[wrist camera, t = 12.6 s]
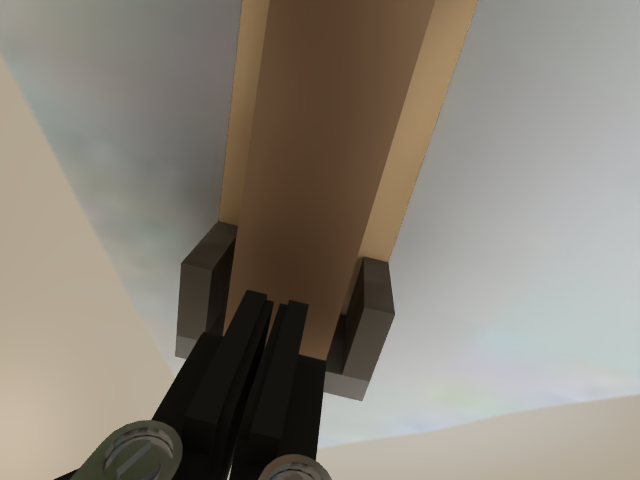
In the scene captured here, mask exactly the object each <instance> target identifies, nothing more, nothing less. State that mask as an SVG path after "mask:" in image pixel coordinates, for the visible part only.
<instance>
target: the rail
mask: <svg viewBox="0 0 640 480" xmlns="http://www.w3.org/2000/svg"><path fill="white" fill-rule="evenodd" d="M477 2H478V0H435V3H434V6H433V10H432V13H431V16H430V20H429V23H428V26H427V29H426V33H425V36H424V39H423V43H422V46H421V49H420V52H419V56H418V59H417V62H416V66H415V69H414V72H413V75H412V79H411V82H410V85H409V89H408V92H407V95H406V98H405V102H404V105H403V108H402V112H401V115H400V118H399V122H398V125H397V128H396V131H395V135H394V138H393V141H392V145H391V148H390V151H389V154H388V158H387V161H386V164H385V168H384V171H383V174H382V177H381V181H380V184H379V187H378V191H377V194H376V197H375V200H374V204H373V207H372V210H371V214H370V217H369V220H368V223H367V227H366V230H365V233H364V237H363V240H362V243H361V246H360V250H359V253H358V256H357V260H356V263H355V266H354V269H353V273H352V276H351V279H350V283H349V286H348V289H347V292H346V296H345V299H344V302H343V306H342V309H341V312H340V315H339V319H338V322H337V325H336V329H335V332H334V335H333V338H332V342H331V345H330V348H329V352H328V355H327V358H326V372H325V381H324V390H323V392H326V393H330V394H334V395H338V396H342V397H347V398H351V399H355V400H359V401H362V400H363V398H364V395H365V392H366V390H367V387H368V385H369V382H370V379H371V377H372V374H373V371H374V369H375V366H376V363H377V361H378V358H379V356H380V353H381V350H382V348H383V345H384V342H385V340H386V337H387V334H388V332H389V329H390V327H391V324H392V321H393V319H394V316H395V311H394V303H393V295H392V288H391V280H390V272H389V264H388V262H389V259H390V256H391V253H392V250H393V247H394V244H395V241H396V238H397V235H398V232H399V229H400V227H401V224H402V221H403V218H404V215H405V212H406V209H407V206H408V203H409V200H410V197H411V195H412V192H413V189H414V186H415V183H416V180H417V177H418V174H419V171H420V168H421V165H422V163H423V160H424V157H425V154H426V151H427V148H428V145H429V142H430V139H431V136H432V133H433V130H434V128H435V125H436V122H437V119H438V116H439V113H440V110H441V107H442V104H443V101H444V98H445V96H446V93H447V90H448V87H449V84H450V81H451V78H452V75H453V72H454V69H455V66H456V64H457V61H458V58H459V55H460V52H461V49H462V46H463V43H464V40H465V37H466V34H467V32H468V29H469V26H470V23H471V20H472V17H473V14H474V11H475V8H476V5H477ZM268 7H269V0H242V8H241V18H240V27H239V36H238V45H237V54H236V63H235V73H234V82H233V91H232V100H231V109H230V118H229V127H228V137H227V146H226V155H225V164H224V173H223V182H222V191H221V201H220V210H219V219H218V222H217V223H216V224H215V225H214V227H213V228H212V229H211V230H210V231H209V232H208V233H207V235H206V236H205V237H204V238H203V239H202V240H201V241H200V242H199V244H198V245H197V246H196V247H195V248H194V249H193V250H192V252H191V253H190V254H189V255H188V256H187V257H186V258H185V260H184V261H183V262H182V263H181V275H180V290H179V305H178V320H177V336H176V351H175V356H176V357H180V358H184V359H187V358H188V356H189V354H190V352H191V351H192V349H193V347H194V346H195V344H196V342H197V340H198V339H199V337H200V336H201V334H202V333H203V332H208V333H212V334H216V335H220V336H223V330H224V323H225V316H226V309H227V302H228V294H229V287H230V280H231V273H232V266H233V258H234V251H235V244H236V237H237V230H238V223H239V215H240V208H241V201H242V194H243V187H244V180H245V172H246V165H247V158H248V151H249V144H250V136H251V129H252V122H253V115H254V108H255V101H256V93H257V86H258V79H259V72H260V65H261V58H262V50H263V43H264V36H265V29H266V22H267V14H268ZM264 350H265V349H264Z"/></svg>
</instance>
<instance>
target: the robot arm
mask: <svg viewBox="0 0 640 480" xmlns="http://www.w3.org/2000/svg"><path fill="white" fill-rule="evenodd" d="M273 305H274V301H270V300H267V294H264V293H260V292H256V291H252V290H247V291H246V292H245V294H244V296H243V298H242V300H241V302H240V304H239V306H238V308H237V310H236V312H235V314H234V316H233V319H232V321H231V323H230V325H229V327H228V329H227V331H226V333H225V335H224V336H220V335H216V334H212V333H208V332H203V333H202V334H201V336H200V337H199V339H198V340H197V342H196V344H195V346H194V347H193V349H192V351H191V352H190V354H189V356H188V358H187V359H186V361H185V363H184V365H183V366H182V368H181V370H180V371H179V373H178V375H177V377H176V378H175V380H174V382H173V384H172V385H171V387H170V389H169V390H168V392H167V394H166V396H165V397H164V399H163V401H162V402H161V404H160V406H159V407H158V409H157V411H156V413H155V414H154V416H153V418H152V420H146V421H145V420H143V421H137V422H134V423H130V424H127V425H125V426H123V427H121V428H119V429H118V430H116V431H114V432H113V433H112V434H111V435H109V437H107V438H106V439H105V440H104V441H103V442H102V443H101V444H100V445H99V447H98V448H97V449H96V450H95V451H94V452H93V453H92V455H91V456H90V457H89V458H88V459H87V460H86V461H85V463H84V464H83V465H82V466H81V467H80V468H79V469H77V470H74V471H72V472H70V473H68V474H65V475H63V476H61V477H59V478H56V479H54V480H227V478H228V474H229V471H230V468H231V465H232V468H231V473H230V478H229V480H332V479H331V477H330V475H329V474H328V472H327V471H326V470H325V469H324V468H323V467H322V466H321V465H320V464H319V463H318V462H316V453H317V444H318V435H319V426H320V417H321V408H322V399H323V390H324V381H325V372H326V361H325V360H321V359H317V358H313V357H308V356H304V355H300V354H299V350H300V345H301V340H302V336H303V331H304V326H305V321H306V317H307V312H308V307H309V304H306V303H302V302H298V301H294V300H289V302H288V305H287V304H282V303H280V305H279V307H278V311H277V314H276V317H275V320H274V323H273V326H272V329H271V332H270V335H269V338H268V341H267V344H266V340H267V335H268V330H269V325H270V320H271V315H272V310H273ZM265 345H266V347H265ZM264 349H265V350H264Z"/></svg>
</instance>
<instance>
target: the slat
mask: <svg viewBox="0 0 640 480" xmlns="http://www.w3.org/2000/svg"><path fill="white" fill-rule="evenodd" d="M434 3H435V0H269V7H268V14H267V22H266V29H265V36H264V43H263V50H262V58H261V65H260V72H259V79H258V86H257V93H256V101H255V108H254V115H253V122H252V129H251V136H250V144H249V151H248V158H247V165H246V172H245V180H244V187H243V194H242V201H241V208H240V215H239V223H238V230H237V237H236V244H235V251H234V258H233V266H232V273H231V280H230V287H229V294H228V302H227V309H226V316H225V323H224V330H223V336H224V335H225V333H226V331H227V329H228V327H229V325H230V323H231V321H232V319H233V316H234V314H235V312H236V310H237V308H238V306H239V304H240V302H241V300H242V298H243V296H244V294H245V292H246V291H247V290H252V291H256V292H260V293H264V294H267V300H270V301H274V305H273V310H272V315H271V320H270V325H269V330H268V335H267V340H266V344H267V341H268V338H269V335H270V332H271V329H272V326H273V323H274V320H275V317H276V314H277V311H278V307H279V305H280V303H282V304H287V305H288V302H289V300H294V301H298V302H302V303H306V304H309V307H308V312H307V317H306V321H305V326H304V331H303V336H302V340H301V345H300V350H299V354H300V355H304V356H308V357H313V358H317V359H321V360H325V361H326V358H327V355H328V352H329V348H330V345H331V342H332V338H333V335H334V332H335V329H336V325H337V322H338V319H339V315H340V312H341V309H342V306H343V302H344V299H345V296H346V292H347V289H348V286H349V283H350V279H351V276H352V273H353V269H354V266H355V263H356V260H357V256H358V253H359V250H360V246H361V243H362V240H363V237H364V233H365V230H366V227H367V223H368V220H369V217H370V214H371V210H372V207H373V204H374V200H375V197H376V194H377V191H378V187H379V184H380V181H381V177H382V174H383V171H384V168H385V164H386V161H387V158H388V154H389V151H390V148H391V145H392V141H393V138H394V135H395V131H396V128H397V125H398V122H399V118H400V115H401V112H402V108H403V105H404V102H405V98H406V95H407V92H408V89H409V85H410V82H411V79H412V75H413V72H414V69H415V66H416V62H417V59H418V56H419V52H420V49H421V46H422V43H423V39H424V36H425V33H426V29H427V26H428V23H429V20H430V16H431V13H432V10H433V6H434ZM265 347H266V345H265Z"/></svg>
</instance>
